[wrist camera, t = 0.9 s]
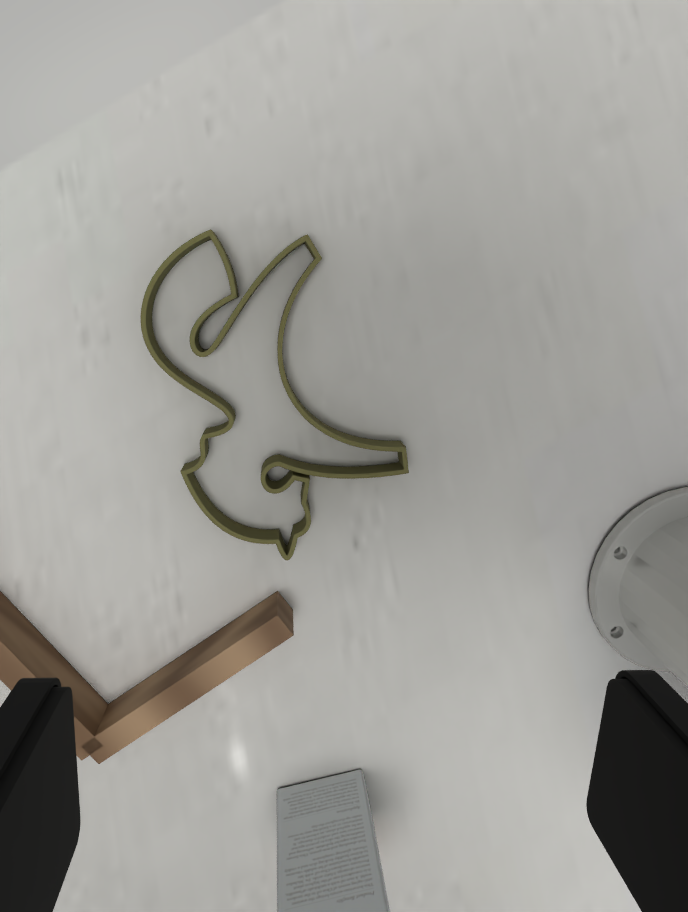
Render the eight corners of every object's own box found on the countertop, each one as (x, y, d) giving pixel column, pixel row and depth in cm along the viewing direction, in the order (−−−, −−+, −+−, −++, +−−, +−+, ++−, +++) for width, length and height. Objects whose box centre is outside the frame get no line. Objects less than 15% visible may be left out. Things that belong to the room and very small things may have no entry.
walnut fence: (42, 296, 33) (19, 296, 30) (292, 609, 39) (293, 635, 36) (-172, 451, 34) (-214, 466, 31) (104, 735, 40) (90, 769, 37)
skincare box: (289, 836, 43) (291, 1033, 32) (275, 786, 42) (273, 972, 31) (375, 816, 44) (408, 1004, 32) (364, 766, 43) (394, 942, 31)
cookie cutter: (419, 487, 38) (427, 498, 36) (240, 567, 39) (238, 582, 37) (296, 195, 34) (297, 189, 32) (91, 288, 34) (80, 288, 32)
